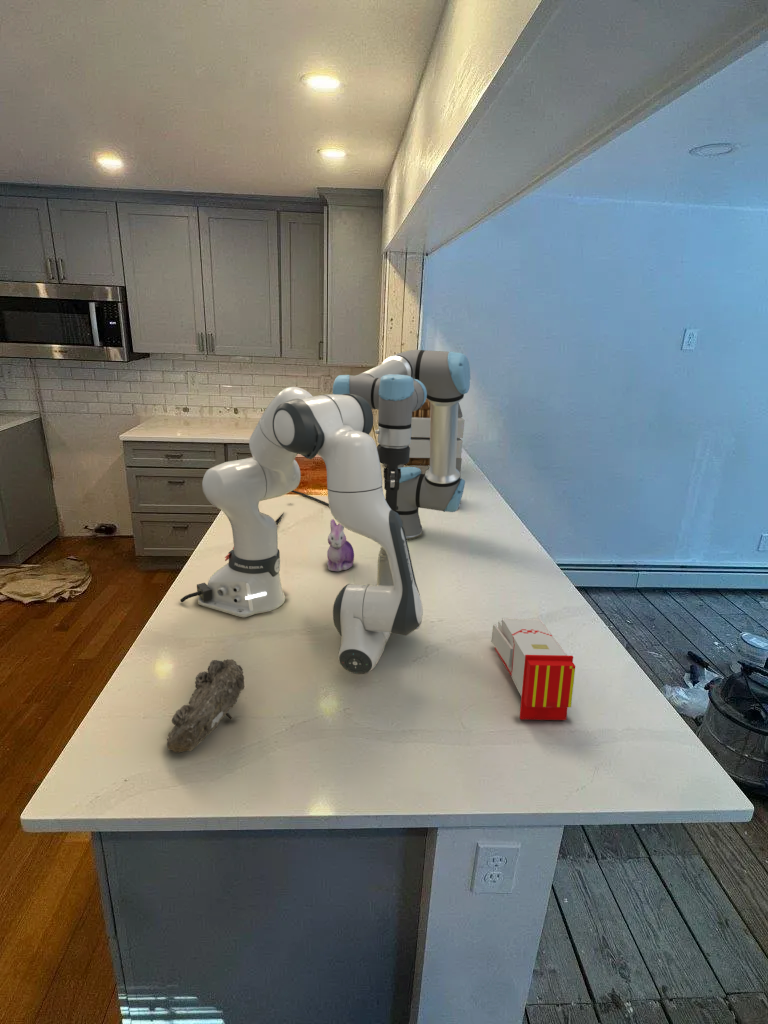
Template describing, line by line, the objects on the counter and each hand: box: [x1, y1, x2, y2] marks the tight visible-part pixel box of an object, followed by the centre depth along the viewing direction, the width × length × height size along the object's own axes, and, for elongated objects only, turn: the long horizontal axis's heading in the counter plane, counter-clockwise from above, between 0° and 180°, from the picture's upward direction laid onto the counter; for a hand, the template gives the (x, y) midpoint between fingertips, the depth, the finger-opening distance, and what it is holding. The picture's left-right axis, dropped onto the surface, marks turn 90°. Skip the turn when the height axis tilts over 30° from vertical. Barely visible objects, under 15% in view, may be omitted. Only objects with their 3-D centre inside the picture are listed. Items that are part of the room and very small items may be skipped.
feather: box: [274, 503, 291, 525], centre depth 211 cm, size 2×28×2 cm
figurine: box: [326, 518, 355, 572], centre depth 171 cm, size 9×10×15 cm
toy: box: [490, 617, 576, 721], centre depth 122 cm, size 12×13×30 cm
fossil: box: [166, 658, 245, 754], centre depth 106 cm, size 22×10×15 cm
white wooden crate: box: [383, 399, 465, 475], centre depth 268 cm, size 34×33×41 cm
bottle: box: [376, 545, 394, 586], centre depth 140 cm, size 5×5×24 cm
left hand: (386, 596), depth 143 cm, fingers closed on bottle, 5 cm apart
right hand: (388, 539), depth 137 cm, fingers closed on cap, 4 cm apart
